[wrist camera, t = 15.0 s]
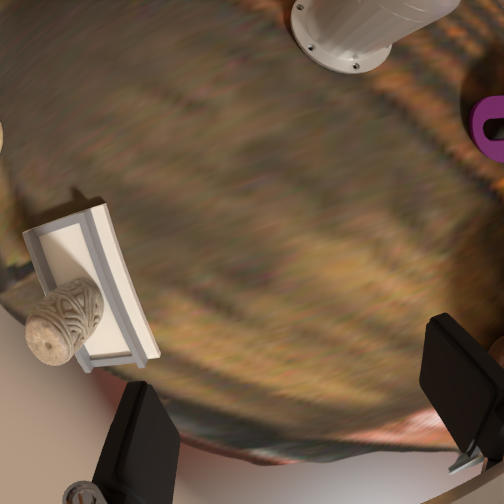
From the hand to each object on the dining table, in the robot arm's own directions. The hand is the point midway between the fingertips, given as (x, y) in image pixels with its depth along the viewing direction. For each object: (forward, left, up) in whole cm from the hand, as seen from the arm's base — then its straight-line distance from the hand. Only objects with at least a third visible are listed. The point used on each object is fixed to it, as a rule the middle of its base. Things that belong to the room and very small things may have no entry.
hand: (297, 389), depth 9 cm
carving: (+6, -24, -28) cm, 37 cm away
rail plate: (+6, -24, -28) cm, 38 cm away
